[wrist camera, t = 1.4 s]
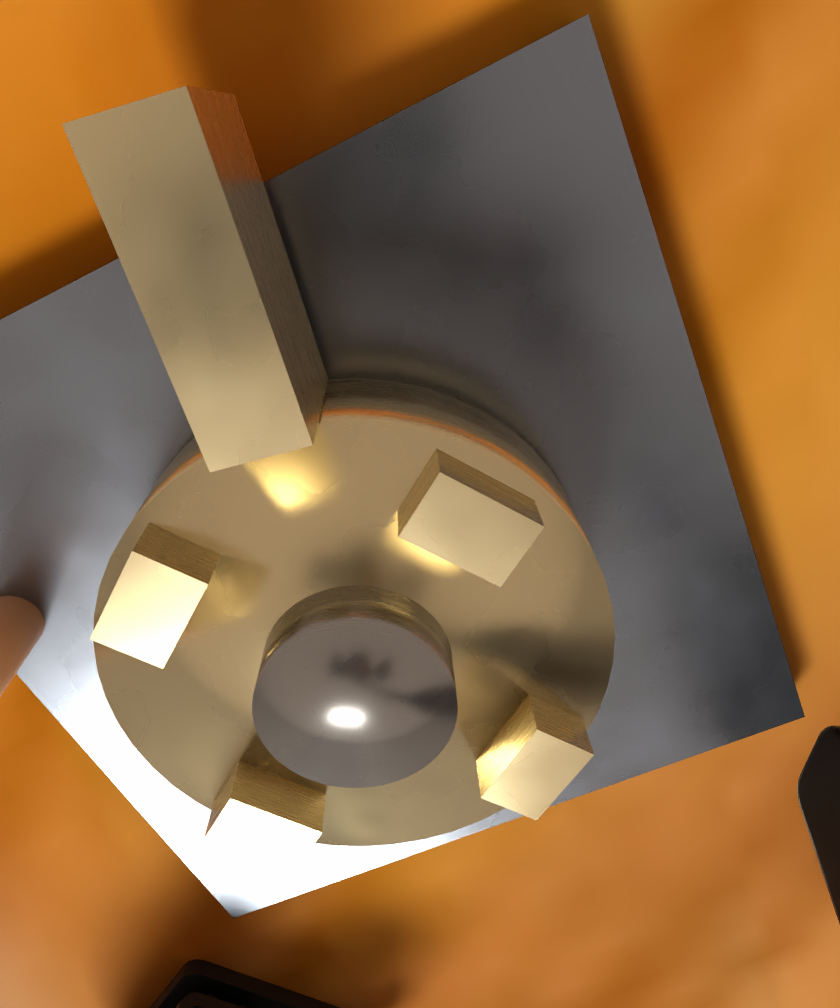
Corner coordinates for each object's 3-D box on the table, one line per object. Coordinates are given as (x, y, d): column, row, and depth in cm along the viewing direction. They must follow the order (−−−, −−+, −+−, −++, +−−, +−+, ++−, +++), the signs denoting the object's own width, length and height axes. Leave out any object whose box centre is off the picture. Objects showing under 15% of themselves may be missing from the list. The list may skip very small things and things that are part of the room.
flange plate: (577, 19, 16) (588, 13, 15) (789, 694, 25) (804, 716, 24) (-177, 411, 19) (-204, 425, 18) (238, 892, 28) (233, 918, 27)
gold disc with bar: (616, 712, 23) (666, 842, 19) (231, 799, 24) (198, 940, 20) (480, 19, 15) (515, -18, 11) (-85, 192, 16) (-249, 216, 12)
